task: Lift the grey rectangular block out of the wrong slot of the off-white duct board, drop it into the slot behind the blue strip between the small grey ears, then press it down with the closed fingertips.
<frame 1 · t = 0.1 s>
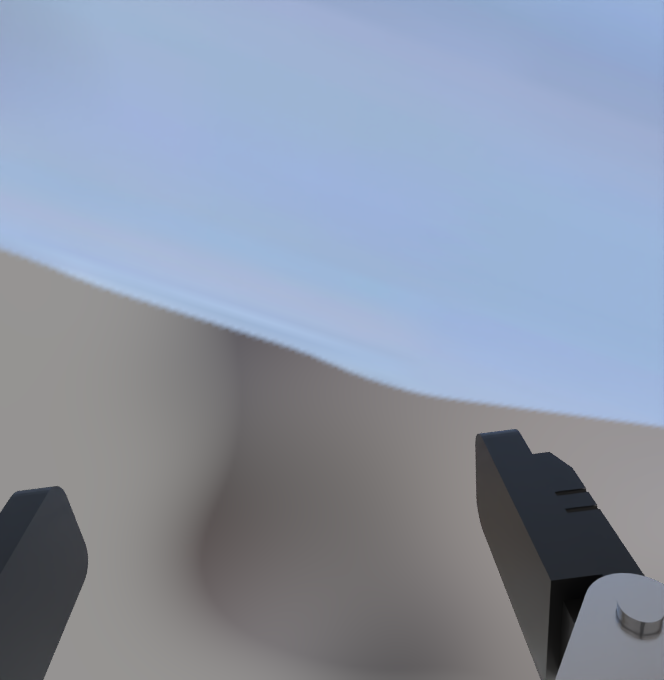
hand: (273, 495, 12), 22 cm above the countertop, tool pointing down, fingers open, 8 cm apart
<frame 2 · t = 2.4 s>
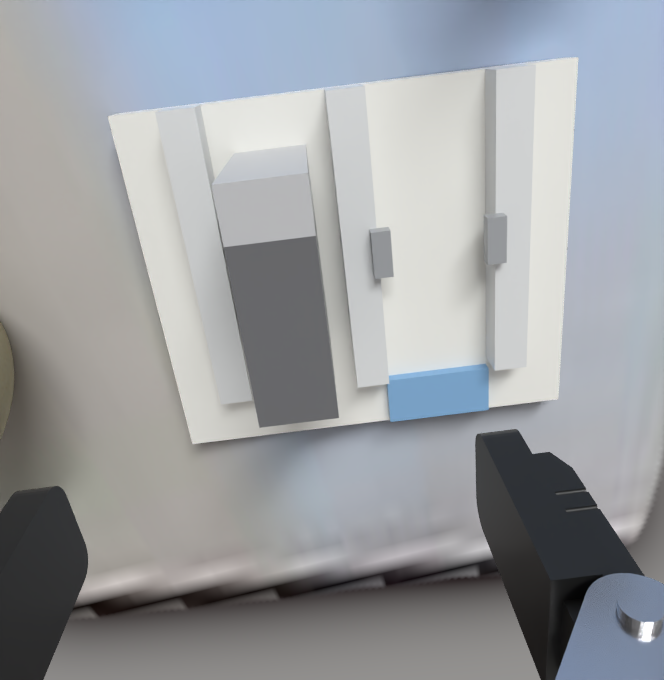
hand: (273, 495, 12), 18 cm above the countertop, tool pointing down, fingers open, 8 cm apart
duct board: (358, 265, 29), on the countertop
grey rectangular block: (285, 252, 27), point 1 cm above the countertop, touching duct board
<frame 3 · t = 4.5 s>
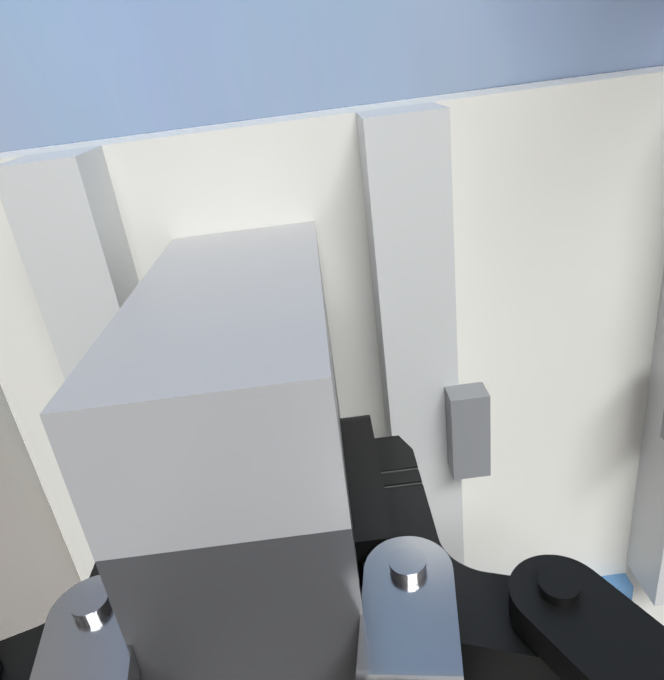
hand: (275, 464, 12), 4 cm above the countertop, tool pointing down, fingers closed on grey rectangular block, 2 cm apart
duct board: (407, 413, 16), on the countertop
grey rectangular block: (276, 413, 14), point 2 cm above the countertop, touching duct board, gripper
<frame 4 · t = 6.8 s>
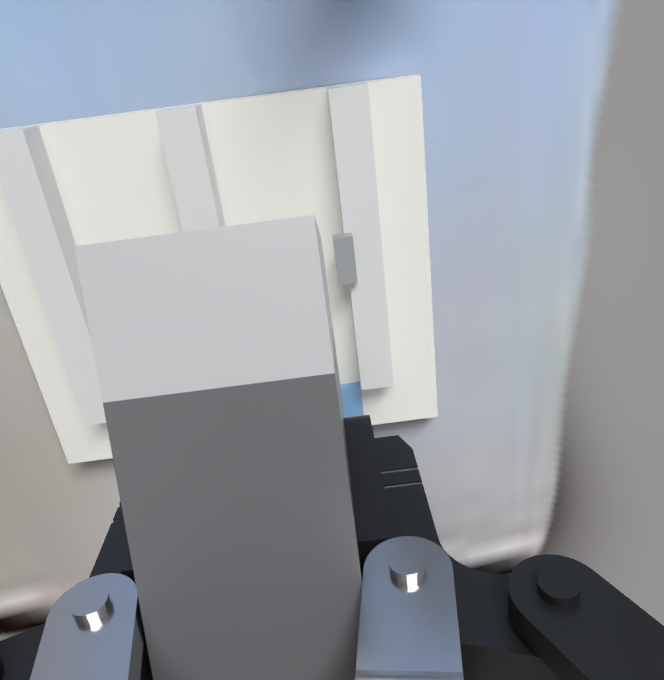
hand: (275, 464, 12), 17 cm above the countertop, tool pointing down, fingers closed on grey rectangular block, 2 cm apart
duct board: (225, 283, 28), on the countertop
grey rectangular block: (285, 426, 15), point 14 cm above the countertop, tilted 18°, touching gripper
when the fingers open (5 cm above the countertop, at t = 9.1 s): grey rectangular block drops 2 cm, resting on duct board.
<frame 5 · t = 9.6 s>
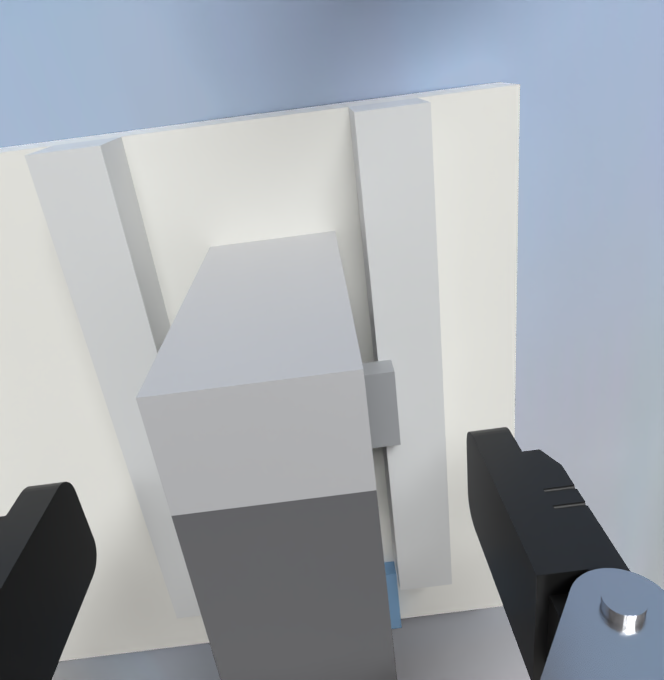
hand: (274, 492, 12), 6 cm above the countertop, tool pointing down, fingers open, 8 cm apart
duct board: (182, 413, 18), on the countertop
grey rectangular block: (299, 400, 16), point 1 cm above the countertop, touching duct board
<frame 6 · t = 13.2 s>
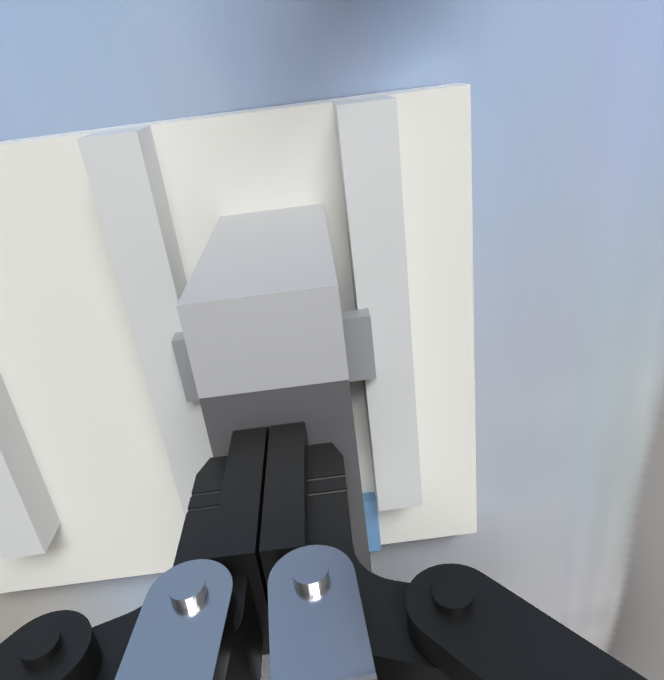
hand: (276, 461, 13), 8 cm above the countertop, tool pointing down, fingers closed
duct board: (194, 363, 21), on the countertop
grey rectangular block: (293, 347, 19), point 1 cm above the countertop, touching duct board, gripper
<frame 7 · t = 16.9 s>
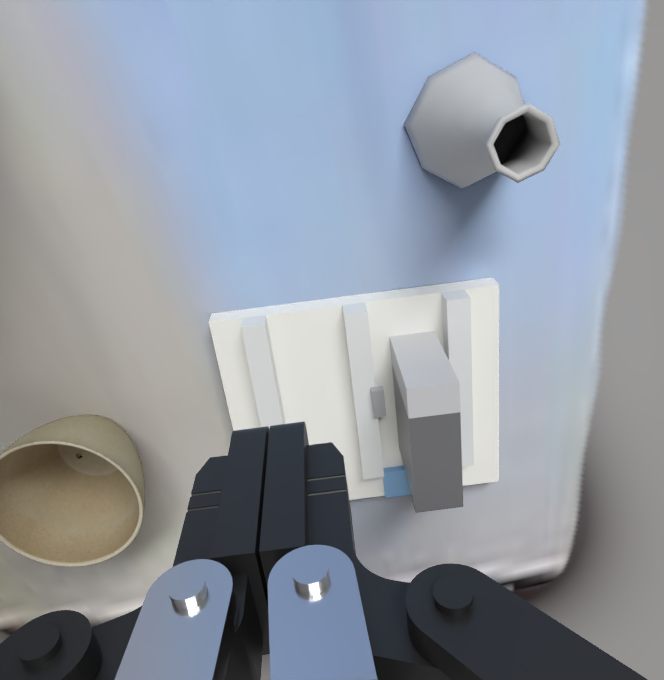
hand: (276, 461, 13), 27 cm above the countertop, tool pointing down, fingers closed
flower pot: (97, 441, 44), on the countertop
duct board: (363, 397, 43), on the countertop
flask: (465, 123, 36), on the countertop
grey rectangular block: (415, 391, 42), point 1 cm above the countertop, touching duct board
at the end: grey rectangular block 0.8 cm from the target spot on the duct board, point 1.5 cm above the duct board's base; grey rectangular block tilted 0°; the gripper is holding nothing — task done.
